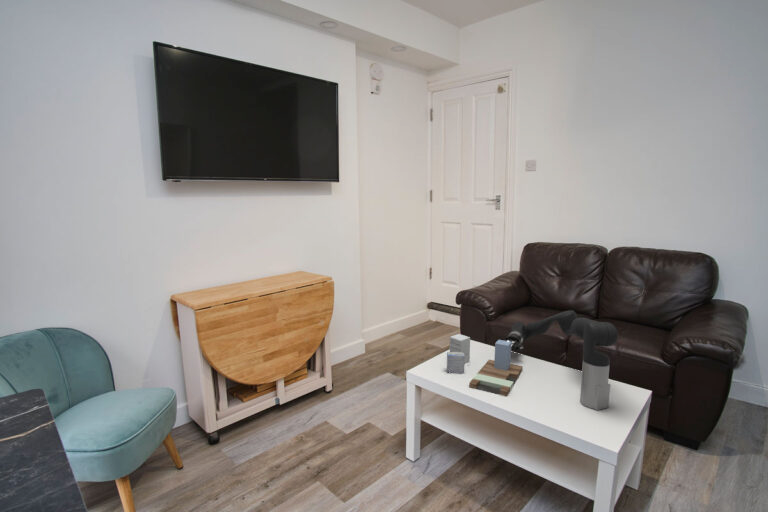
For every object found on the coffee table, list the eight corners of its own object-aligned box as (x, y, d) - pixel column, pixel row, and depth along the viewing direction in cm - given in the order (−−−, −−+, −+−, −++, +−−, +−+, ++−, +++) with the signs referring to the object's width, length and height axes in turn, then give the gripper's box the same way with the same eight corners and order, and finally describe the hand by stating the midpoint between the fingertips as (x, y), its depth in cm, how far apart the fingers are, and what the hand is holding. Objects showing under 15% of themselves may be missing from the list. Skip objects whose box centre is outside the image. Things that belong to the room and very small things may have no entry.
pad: (477, 377, 182) (477, 373, 181) (513, 385, 174) (513, 381, 173) (472, 382, 176) (473, 378, 176) (509, 391, 169) (510, 387, 168)
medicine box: (463, 369, 190) (463, 352, 189) (464, 373, 186) (464, 355, 185) (446, 369, 191) (446, 351, 190) (447, 372, 187) (447, 355, 186)
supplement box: (458, 357, 206) (459, 333, 204) (469, 361, 200) (470, 337, 198) (448, 360, 201) (449, 336, 199) (460, 365, 195) (461, 340, 194)
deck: (488, 363, 198) (488, 359, 198) (522, 370, 190) (522, 366, 190) (469, 387, 172) (469, 382, 172) (507, 396, 164) (507, 391, 164)
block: (497, 363, 193) (498, 339, 191) (510, 366, 190) (511, 341, 188) (494, 368, 187) (495, 343, 186) (507, 370, 184) (508, 345, 183)
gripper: (501, 331, 211) (492, 340, 196) (527, 335, 204) (520, 345, 189) (500, 344, 212) (492, 355, 197) (527, 349, 205) (519, 360, 190)
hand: (506, 350), depth 193 cm, fingers closed
